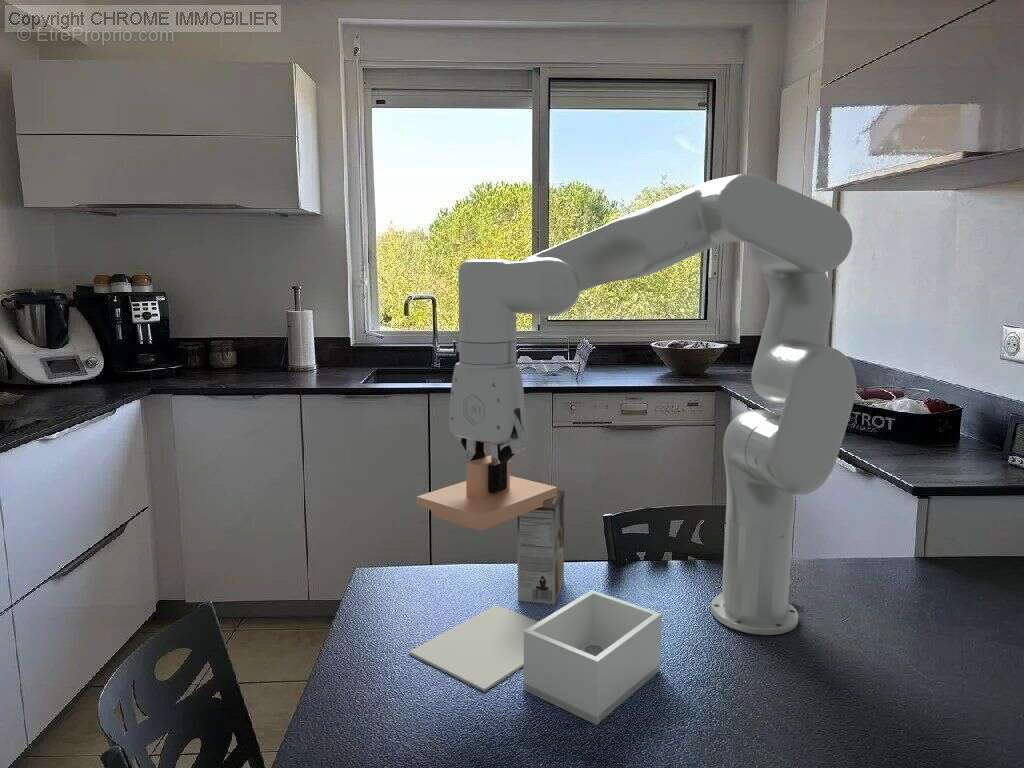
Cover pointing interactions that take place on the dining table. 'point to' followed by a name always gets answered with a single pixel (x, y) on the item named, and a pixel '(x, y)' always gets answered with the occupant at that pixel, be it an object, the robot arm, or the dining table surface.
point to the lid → (485, 498)
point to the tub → (592, 654)
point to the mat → (479, 647)
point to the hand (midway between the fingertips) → (488, 487)
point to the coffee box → (541, 552)
